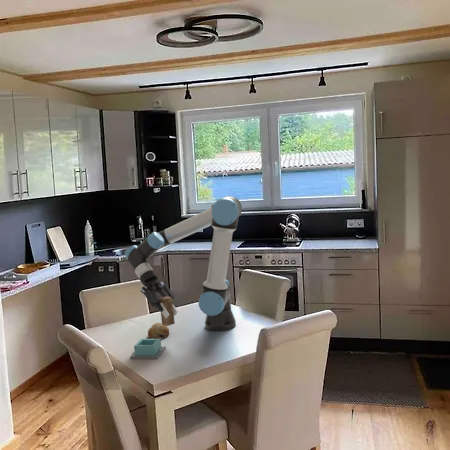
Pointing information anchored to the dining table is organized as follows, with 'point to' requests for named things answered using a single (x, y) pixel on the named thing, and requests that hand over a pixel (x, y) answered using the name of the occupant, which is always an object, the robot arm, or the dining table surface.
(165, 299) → the walnut post
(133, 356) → the teal square socket
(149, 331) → the bread roll
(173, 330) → the dining table surface
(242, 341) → the dining table surface
